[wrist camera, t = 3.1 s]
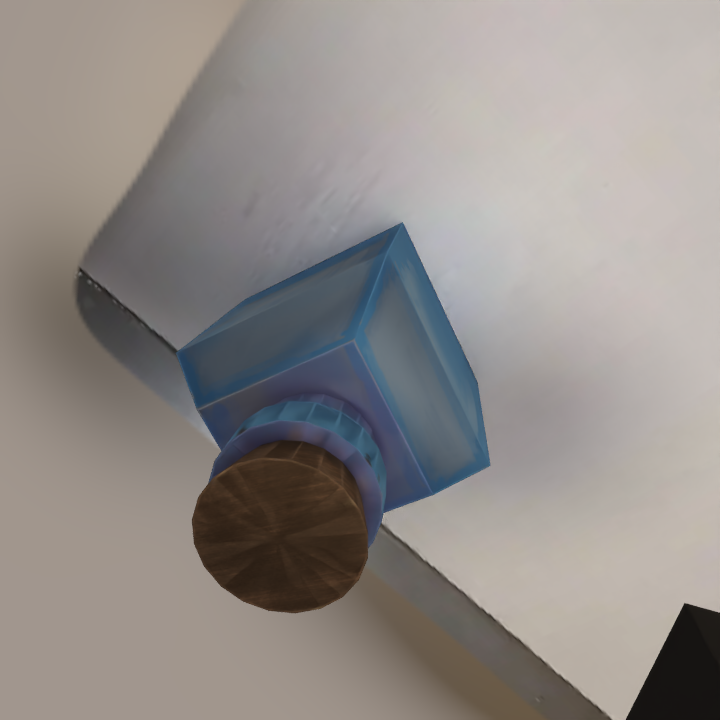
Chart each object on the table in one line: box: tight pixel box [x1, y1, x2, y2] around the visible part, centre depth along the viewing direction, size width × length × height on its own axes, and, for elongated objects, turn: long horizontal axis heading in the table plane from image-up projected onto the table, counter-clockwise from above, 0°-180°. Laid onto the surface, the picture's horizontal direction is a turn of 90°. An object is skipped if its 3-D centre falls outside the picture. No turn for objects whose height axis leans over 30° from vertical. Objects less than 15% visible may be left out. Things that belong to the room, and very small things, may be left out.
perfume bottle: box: [176, 223, 490, 613], centre depth 17 cm, size 6×6×12 cm
